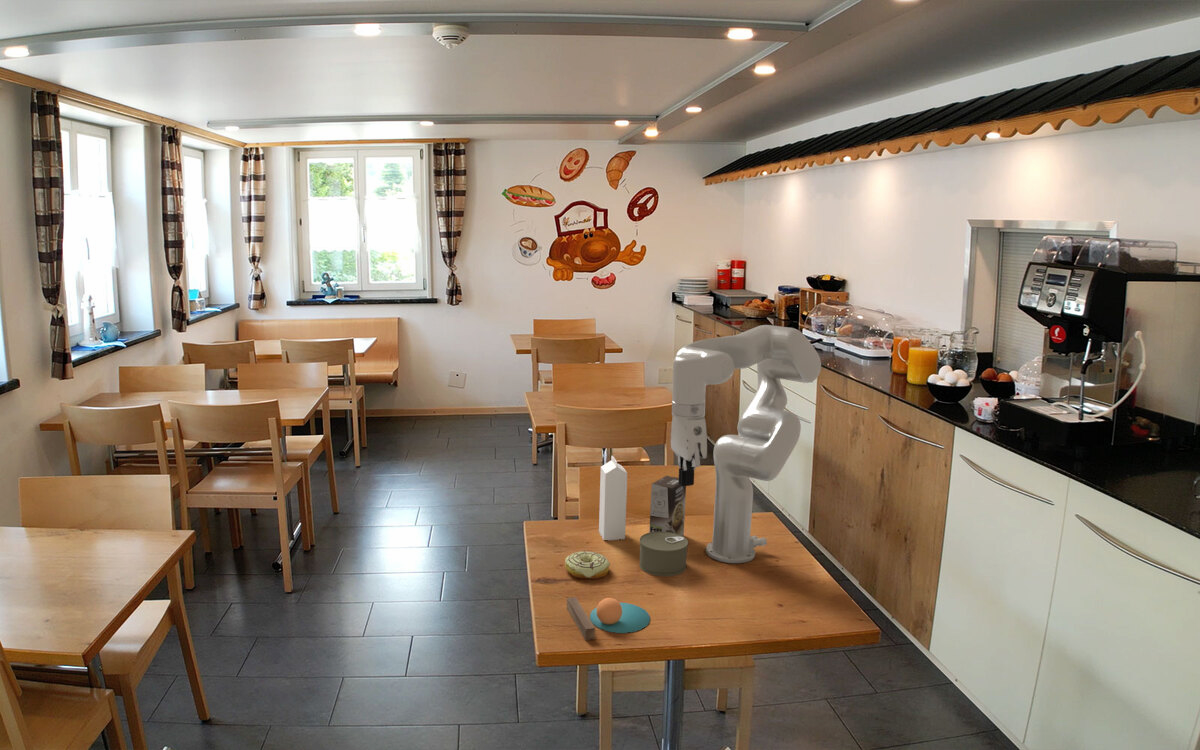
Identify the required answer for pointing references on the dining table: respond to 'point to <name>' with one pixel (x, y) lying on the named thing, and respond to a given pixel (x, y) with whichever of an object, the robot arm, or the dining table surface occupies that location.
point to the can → (663, 553)
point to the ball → (609, 611)
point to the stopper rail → (580, 618)
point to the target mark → (624, 619)
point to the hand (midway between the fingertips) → (686, 484)
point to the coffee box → (667, 506)
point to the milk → (612, 501)
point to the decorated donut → (587, 565)
